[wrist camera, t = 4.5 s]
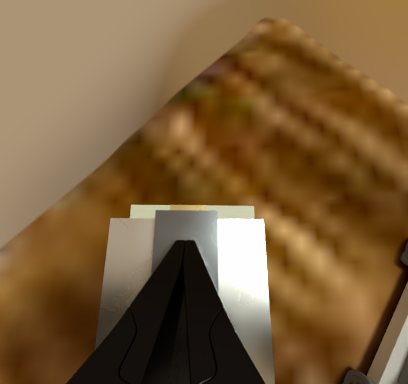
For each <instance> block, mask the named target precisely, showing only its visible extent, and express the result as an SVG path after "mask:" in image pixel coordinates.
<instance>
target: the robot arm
mask: <svg viewBox="0 0 408 384" xmlns="http://www.w3.org/2000/svg"><path fill="white" fill-rule="evenodd" d="M183 294H184V295H185V311H186V328H187V344H188V360H189V377H190V384H265V382H264V380H263V378H262V377H261V375H260V373H259V372H258V370H257V368H256V366H255V365H254V363H253V361H252V360H251V358H250V356H249V354H248V353H247V351H246V349H245V348H244V346H243V344H242V342H241V340H240V338H239V337H238V335H237V333H236V331H235V329H234V327H233V325H232V323H231V321H230V318H229V316H228V314H227V312H226V310H225V308H224V305H223V303H222V301H221V298H220V296H219V294H218V292H217V289H216V287H215V285H214V283H213V280H212V278H211V276H210V273H209V271H208V269H207V267H206V264H205V262H204V260H203V258H202V255H201V253H200V251H199V248H198V246H197V244H196V242H195V240H186V241H185V240H176V241H175V242H174V244H173V245H172V247H171V248H170V249H169V251H168V252H167V254H166V255H165V256H164V258H163V259H162V261H161V262H160V263H159V265H158V266H157V268H156V269H155V270H154V272H153V273H152V275H151V276H150V277H149V279H148V280H147V282H146V283H145V284H144V286H143V287H142V289H141V290H140V292H139V293H138V294H137V296H136V297H135V299H134V300H133V301H132V303H131V304H130V307H128V308H127V310H126V311H125V312H124V314H123V315H122V317H121V318H120V319H119V321H118V322H117V323H116V325H115V326H114V327H113V329H112V330H111V331H110V333H109V334H108V335H107V336H106V337H105V339H104V340H103V341H102V342H101V343H100V345H99V346H98V347H97V348H96V349H95V351H94V352H93V353H92V354H91V355H90V356H89V358H88V359H87V360H86V361H85V362H84V363H83V365H82V366H81V367H80V368H79V369H78V370H77V372H76V373H75V374H74V375H73V376H72V377H71V379H70V380H69V381H68V382H67V383H66V384H168V380H169V375H170V369H171V363H172V357H173V352H174V346H175V340H176V334H177V329H178V323H179V317H180V312H181V306H182V300H183Z"/></svg>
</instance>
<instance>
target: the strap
mask: <svg viewBox="0 0 408 384" xmlns="http://www.w3.org/2000/svg"><path fill="white" fill-rule="evenodd" d="M176 240H185V241H186V240H195V242H196V244H197V246H198V248H199V251H200V253H201V255H202V258H203V260H204V262H205V264H206V267H207V269H208V271H209V273H210V276H211V278H212V280H213V283H214V285H215V287H216V289H217V292H218V294H219V288H218V211H206V210H156V211H155V226H154V240H153V255H152V269H151V275H152V273H153V272H154V270H155V269H156V268H157V266H158V265H159V263H160V262H161V261H162V259H163V258H164V256H165V255H166V254H167V252H168V251H169V249H170V248H171V247H172V245H173V244H174V242H175V241H176ZM168 384H190V377H189V360H188V344H187V328H186V311H185V295H184V294H183V300H182V306H181V312H180V317H179V323H178V329H177V334H176V340H175V346H174V352H173V357H172V363H171V369H170V375H169V380H168Z"/></svg>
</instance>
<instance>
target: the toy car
mask: <svg viewBox="0 0 408 384" xmlns="http://www.w3.org/2000/svg"><path fill="white" fill-rule="evenodd" d="M400 260H401V261H402V262H403V263H404V264H406V265H407V266H408V242H407V245H406V249H405V251H404V252H403V254H402V255H401V258H400ZM343 384H408V282H407V285H406V287H405V289H404V292H403V294H402V296H401V298H400V301H399V303H398V305H397V308H396V310H395V312H394V314H393V317H392V319H391V321H390V324H389V326H388V328H387V330H386V333H385V335H384V337H383V340H382V342H381V344H380V346H379V349H378V351H377V353H376V356H375V358H374V360H373V363H372V365H371V367H370V369H369V372H368V374H367V376H366V375H364V374H363V373H362V372H360V371H357V370H350V371H348V372H347V374H346V376H345V379H344V382H343Z"/></svg>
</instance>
